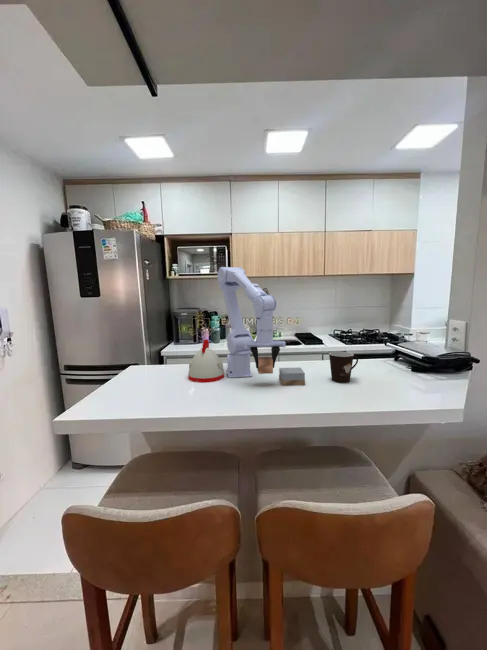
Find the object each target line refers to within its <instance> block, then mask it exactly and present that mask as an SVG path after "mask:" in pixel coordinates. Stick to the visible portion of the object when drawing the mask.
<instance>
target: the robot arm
mask: <svg viewBox="0 0 487 650" xmlns="http://www.w3.org/2000/svg"><path fill="white" fill-rule="evenodd" d="M216 277H217V282H218V286H219V290H221V291H222V295H223V300H224V304H225V309H226V313H227V318H228V321H229V325H230V332H229V333H228V334H227V336H226V340H227V341H226V346H227V350H228V351H229V353H227V355H226V356H227V367H226V372H227V378H248V377H252V376H253V374H252V371H251V354H252V357H253V358H254V362H255V368H256V369H257V368H258V357H259V350H258V349H259V348H260V349H261V348H262V349H263V348H266V349H267V348H271V357H272V359H273V369H274V368H275V364H276V361H277V358H278V355H279V353H280V351H281V348H287V347H286V341H284V340H283V341H281V340H280V341H279V340H274V337H273V336H274V335H273V333H274V323H273V322H274V319H273V318H274V311H275V310H276V307H277V301H276V298H275V297H274V295H272V294H267V293H266V292H265V291H264V290H263V289H261V287H260V285H259V284H258V283H252V281H250V279H249V278H248V276H247V275H246V270H244V268H243V267H239V266H238V267H235V266H231V267H230V266H228V267H227V266H226V267H225V266H221V267H219V269H218V271H217V276H216ZM240 288H242V289H243V290H244V295H245V296H246V297H247V299H248V300H249V301H250V302H251V303H252V308H253V310H254V311H253V312H254V317H255V318H256V341H255V339H254V338H253V336H252V333H251V331H250V330H248V329H247V328H246V327H245V326H244V321H243V317H242V315H241V314H242V313H241V309H240V305H239V302H238V299H237V293H236V291H238V290H239V289H240Z"/></svg>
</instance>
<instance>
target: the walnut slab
mask: <svg viewBox="0 0 487 650" xmlns="http://www.w3.org/2000/svg"><path fill="white" fill-rule="evenodd" d="M278 381H279V382H280V383H281V385H282V386H283V387H287V386H288V387H291V386H293V387H294V386H305V385H306V380H282V379H281V377H280V374H278Z"/></svg>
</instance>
